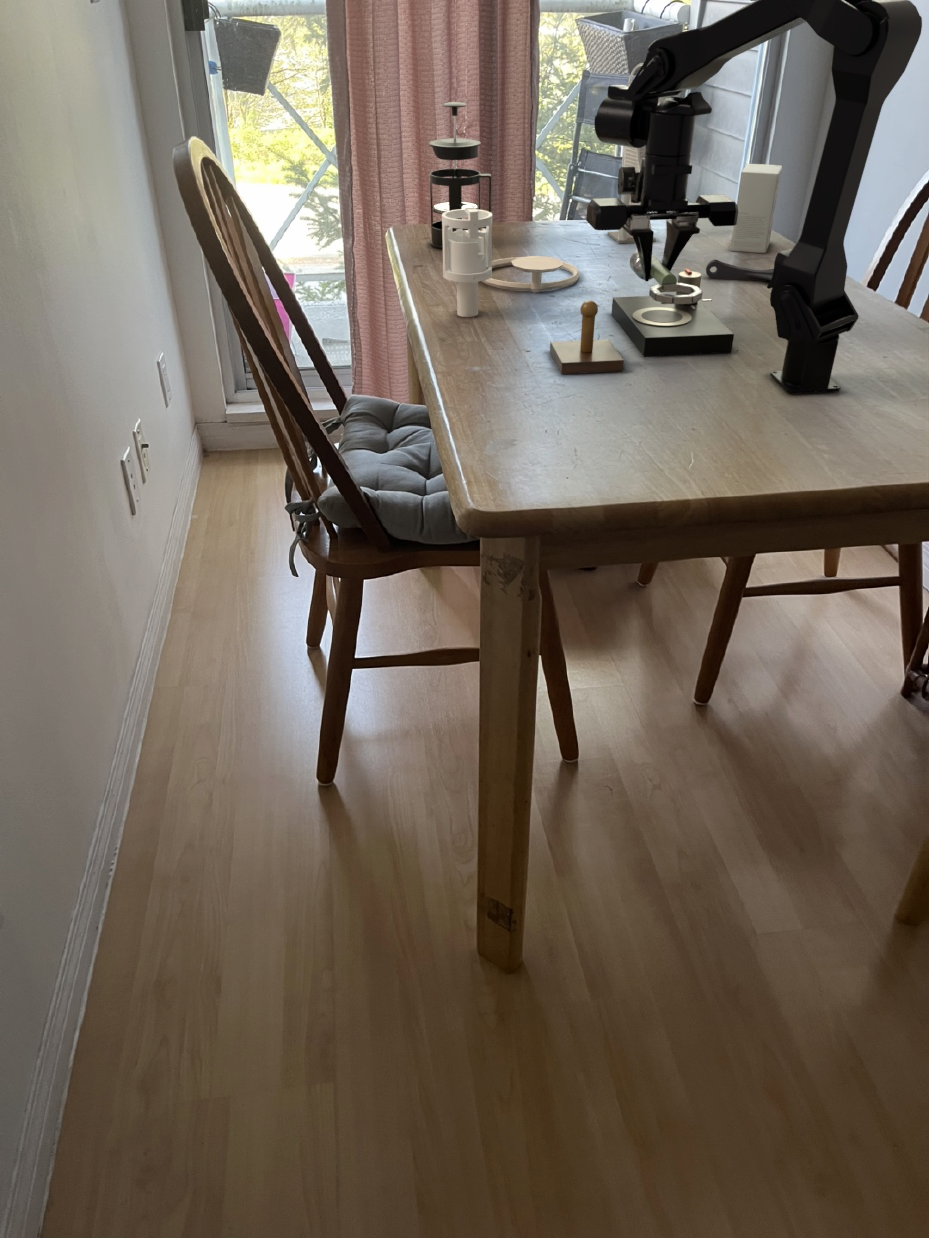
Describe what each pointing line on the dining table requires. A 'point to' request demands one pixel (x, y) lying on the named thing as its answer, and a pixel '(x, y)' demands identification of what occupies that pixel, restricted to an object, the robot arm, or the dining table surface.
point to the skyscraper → (634, 159)
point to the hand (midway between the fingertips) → (654, 280)
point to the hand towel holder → (534, 273)
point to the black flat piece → (737, 272)
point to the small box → (756, 207)
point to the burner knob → (689, 280)
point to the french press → (454, 176)
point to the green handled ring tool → (666, 283)
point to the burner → (662, 316)
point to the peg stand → (586, 349)
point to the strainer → (467, 254)
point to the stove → (673, 329)
